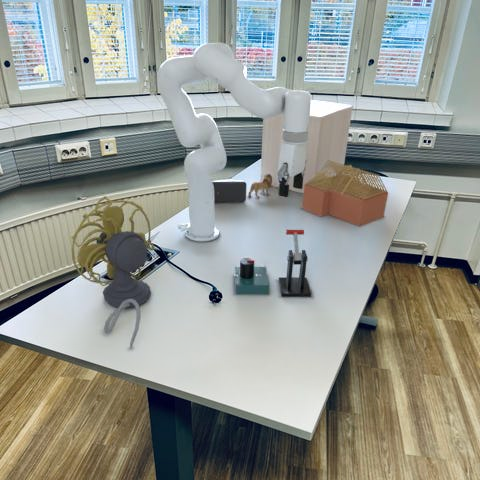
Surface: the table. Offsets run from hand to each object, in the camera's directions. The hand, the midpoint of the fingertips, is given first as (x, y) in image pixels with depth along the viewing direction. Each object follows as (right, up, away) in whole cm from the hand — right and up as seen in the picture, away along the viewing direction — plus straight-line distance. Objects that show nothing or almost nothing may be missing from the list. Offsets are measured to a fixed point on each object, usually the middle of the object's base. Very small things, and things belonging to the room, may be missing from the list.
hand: (290, 192), depth 149 cm
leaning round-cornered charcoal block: (-22, +11, +58) cm, 63 cm away
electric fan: (-46, -38, -15) cm, 61 cm away
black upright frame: (+1, -31, -3) cm, 31 cm away
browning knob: (-14, -27, -3) cm, 31 cm away
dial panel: (-13, -30, -2) cm, 32 cm away
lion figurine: (-7, +17, +67) cm, 69 cm away
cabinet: (+15, +30, +86) cm, 93 cm away
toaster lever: (+1, -19, -6) cm, 20 cm away
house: (+29, +6, +51) cm, 59 cm away
